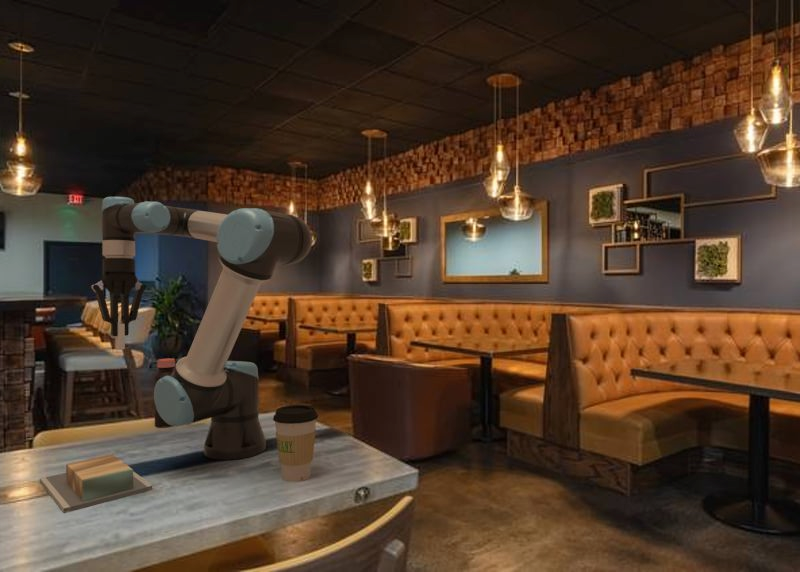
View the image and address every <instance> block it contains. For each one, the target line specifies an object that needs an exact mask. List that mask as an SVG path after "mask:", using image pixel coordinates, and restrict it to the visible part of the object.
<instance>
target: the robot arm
mask: <svg viewBox="0 0 800 572" xmlns="http://www.w3.org/2000/svg"><path fill="white" fill-rule="evenodd" d="M100 214H101V234H102V235H101V236H102V237H101V238H102V257H104V258H103V259H102V275H101V278H100V281H98V282H97V283H95V284H92V285H91V286H90V288H91V290H92V292H93V293H95V297H96V302H97V305H98V308H99V311H100V315H101V317H102V321H103V322H105V323H109V324H110V335H111V336H112V337H114V342H115V343H114V344H115V346H114V347H115V349H116V350H126V340H125V339H126V337H125V336H129V331H130V330H129V329H130V328H129V324H130V322H133V321H136V320H137V318H138V314H139V310H140V305H141V301H142V297H143V294H144V292H145V290H146V289H147V285H146V284H143V283H141V282H140V281H138V278H137V276H136V260H135V257H136V234H151V235H152V234H153V235H165V236H178V237H184V238H185V237H186V238H192V239H199V240H203V241H208V242H213V243H217V244H216V247H217V250H218V251H217V252H218V253H219V255H220V256H219V263H220V264H221V266H222V271H221V273H220V275H219V278H218V281H217V283H216V285H215V288H214V290H213V292H212V295H211V297H210V300H209V301H208V305H207V307H206V309H205V312H204V314H203V317H202V319H201V322H200V324H199V326H198V329H197V331H196V333H195V336H194V339H193V341H192V344H191V346H190V347H189V350H188V352H187V355H186V356H184V357H183V356H182V357H181V358H179V359H178V361H177V362H175V366H174V367H175V368H174V371H173V373H172V375H171V376H165V377H163V378H161V379H159V380H158V382H157V383H156V385H155V389H153V401H154V406H155V405H156V409H157V411H158V413H159V415H160V416H161V418H162V419H163V420H164V421H165V422H166V423H167V424H169V425H171V426H170V427H181V426H190V425H192V424H194V423H198V422H200V421H201V422H202V421H204V420H208V419H211V420H210V425H209V429H208V432H207V434H206V437H205V442H204V445H203V454H204V457H206V458H208V459H209V458H210V459H214V460H219V461H220V460H223V461H227V460H230V461H231V460H238V459H240V460H241V459H246V458H250V457H254V456H257V455H258V454H262V453H263V452H264V451H265V450H266V446H267V444H266V443H267V442H266V437H265V433H264V432H263V431H264V430H263V427H262V425H261V422H260V420H259V418H260V417H259V379H260V377H259V370H258V369H259V368H258V366H257V364H255V363H254V362H251V361H241V360H228V359H229V357H230V355H231V353H232V350H233V348H234V346H235V343H236V341H237V339H238V337H239V334H240V332H241V330H242V327H243V326H244V323H245V321H246V318H247V317H248V314H249V311H250V309H251V307H252V304H253V302H254V300H255V299H256V295H257V293H258V291H259V288H260V287H261V284H264V283H266V282H268V281H270V280H271V279H272V276H273V275H274V272H275V271H276V268H277V266H289V265H294V264H298V263H299V262H301V261H302V260H304V258H305V257H306V256H307V255H308V254H309V252H310V251H311V248H312V245H313V244H312V243H313V237H312V233H311V229H310V227H309V225H307V223H306V222H305V221H304V220H303V219H301V218H300V217H297V216H296V215H293V214H289V213H288V214H287V213H282V212H275V211H269V210H264V209H262V208H254V207H253V208H247V207H246V208H245V207H244V208H238V209H235V210H232V211H231V212H230V213H228V214H226V213H218V212H212V211H205V210H204V211H203V210H199V209H194V208H184V207H176V206H172V205H171V206H170V205H164V204H163V203H161V202H159V201H149V200H148V201H144V202H143V201H142V202H135V201H134V199H132V198H131V197H125V196H107V197H105V198H104V199H102V206H101V211H100ZM104 287H105V289H106V290H107V291H108V293H109V302H110V303H109V306H110V307H109V308H108V305H107V301H106V297H105V293H104V292H103V290H104ZM133 288H134V290H135V291H134V294H133V296H132V297H133V298H132V301H131V307H130V292H131V291H132V289H133ZM119 295H120V318H121V319H120V320H121V323H120V322H119Z"/></svg>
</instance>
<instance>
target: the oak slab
mask: <svg viewBox="0 0 800 572" xmlns="http://www.w3.org/2000/svg"><path fill="white" fill-rule="evenodd" d="M65 467H66V469H65V473H66V483H67V484H68V485H69V486H70V487H71V488H72V489H73V490H74V491H75V492H76V494H77V495H78V496H79V497H80V498H81V499H82V500H83V501H88V500H92V499H96V498H100V497H104V496H107V495H111V494H115V493H119V492H123V491H127V490H131V489H133V471H134V469H133V468H131V467H130V466H129V465H127V464H126V463H125V462H124V461H122V460H121V459H119V458H118V457H117V456H116V455H114V454H111V453H110V454H107V455H103V456H98V457H97V456H96V457H93V458H86V459H83V460H78V461H74V462H69V463H66V464H65Z"/></svg>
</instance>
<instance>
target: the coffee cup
mask: <svg viewBox="0 0 800 572" xmlns="http://www.w3.org/2000/svg"><path fill="white" fill-rule="evenodd" d="M274 413H275V414H274V415H273V416H272V417H273V418H272V420H273V422H274V423H275V424H274V425H275V438H276V439H275V440H276V447H277V455H278V462H279V463H280V473H281V479H282V480H283V481H286V482H290V483H297V482H302V481H303V482H304V481H305V480H308V479H309V478H310V477H311V472H312V462H313V460H314V452H315V451H314V449H315V441H316V431H317V429H316V424H317V419H318V418H319V415H318V412H317V411H316V408H315V406H312V405H308V404H307V405H306V404H292V405H286V406H285V405H284V406H281V407H280V406H279V408H277V409H276V410H275V412H274Z"/></svg>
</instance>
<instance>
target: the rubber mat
mask: <svg viewBox="0 0 800 572" xmlns="http://www.w3.org/2000/svg"><path fill="white" fill-rule="evenodd" d="M39 483H40V484H41V486H42V487H43V488H44V489H45V491H46V492H47V493H48V494H49V496H50V497H51V498H52V499H53V501H54V502H55V503H56V505H57V506H58V507H59V509H60V510H61V511H62V512H63V514H64V513H69V512H72V511H76V510H79V509H83V508H84V509H85V508H88V507H91V506H95V505H99V504H102V503H107V502H111V501H114V500H118V499H122V498H125V497H129V496H133V495H137V494H141V493H144V492H149V491H152V490H153V484H151V483H150V482H148V481H147V480H146V479H144V478H143V477H142V476H140V475H139V474H138V473H136V472H135V471H134V470H133V489H131V490H127V491H123V492H119V493H115V494H111V495H107V496H104V497H100V498H96V499H92V500H88V501H83V500H82V499H81V498H80V497H79V496H78V495H77V494H76V492H75V491H74V490H73V489H72V488H71V487H70V486H69V485H68V484H67V483H66V472H63V473H59V474H53V475H50V476H49V475H48V476H44V477H39Z"/></svg>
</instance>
